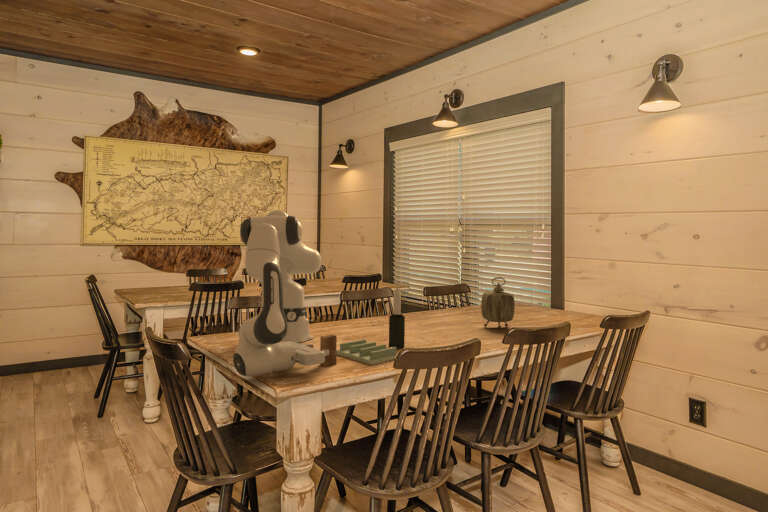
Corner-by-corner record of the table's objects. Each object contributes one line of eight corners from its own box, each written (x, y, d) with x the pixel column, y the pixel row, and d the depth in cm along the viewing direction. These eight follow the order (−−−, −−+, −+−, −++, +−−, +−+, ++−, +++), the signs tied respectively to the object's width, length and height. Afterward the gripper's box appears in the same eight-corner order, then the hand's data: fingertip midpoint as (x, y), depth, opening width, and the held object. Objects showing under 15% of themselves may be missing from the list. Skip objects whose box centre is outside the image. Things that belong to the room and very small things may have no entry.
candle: (396, 345, 198) (397, 284, 197) (405, 347, 194) (406, 285, 193) (387, 347, 194) (388, 285, 193) (396, 349, 191) (397, 286, 190)
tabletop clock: (508, 326, 243) (509, 276, 242) (515, 329, 234) (516, 278, 233) (480, 326, 241) (481, 276, 240) (486, 330, 232) (487, 278, 231)
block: (324, 366, 165) (324, 337, 164) (320, 365, 166) (320, 336, 166) (336, 364, 168) (336, 335, 168) (332, 362, 170) (332, 334, 169)
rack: (371, 365, 167) (371, 353, 167) (336, 354, 182) (336, 343, 182) (400, 358, 177) (400, 347, 177) (364, 348, 192) (364, 338, 191)
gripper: (302, 352, 148) (338, 345, 157) (268, 340, 163) (303, 335, 172) (302, 372, 148) (338, 364, 157) (268, 359, 163) (303, 352, 172)
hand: (319, 349), depth 165 cm, fingers open, 8 cm apart
